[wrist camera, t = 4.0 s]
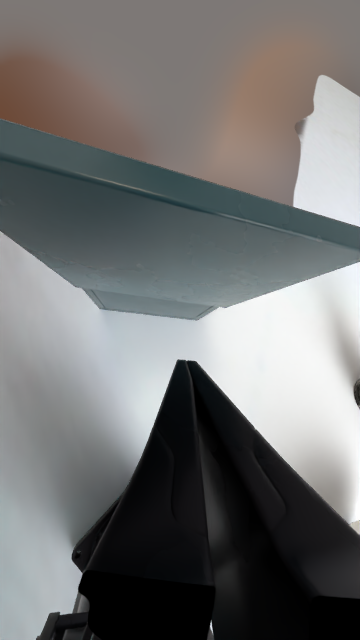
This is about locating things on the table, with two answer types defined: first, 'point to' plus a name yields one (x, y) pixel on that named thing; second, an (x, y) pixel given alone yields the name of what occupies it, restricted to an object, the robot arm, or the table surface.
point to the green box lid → (156, 225)
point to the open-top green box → (148, 305)
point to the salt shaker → (357, 392)
